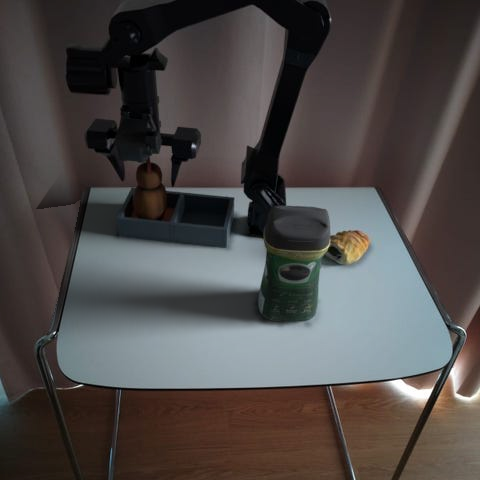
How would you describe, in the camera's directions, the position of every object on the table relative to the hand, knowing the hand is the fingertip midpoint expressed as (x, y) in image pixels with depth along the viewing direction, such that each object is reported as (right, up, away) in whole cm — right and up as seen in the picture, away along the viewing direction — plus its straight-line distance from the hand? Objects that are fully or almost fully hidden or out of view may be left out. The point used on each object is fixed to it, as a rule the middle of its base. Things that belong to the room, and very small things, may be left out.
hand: (148, 182), depth 90 cm
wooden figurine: (-1, -5, +6) cm, 8 cm away
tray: (+5, -6, +6) cm, 10 cm away
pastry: (+36, -12, +3) cm, 38 cm away
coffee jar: (+24, -23, -8) cm, 34 cm away
